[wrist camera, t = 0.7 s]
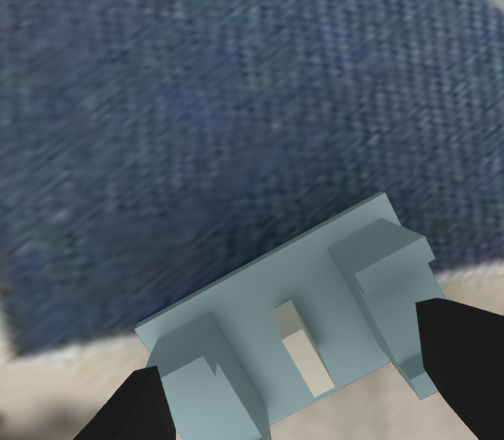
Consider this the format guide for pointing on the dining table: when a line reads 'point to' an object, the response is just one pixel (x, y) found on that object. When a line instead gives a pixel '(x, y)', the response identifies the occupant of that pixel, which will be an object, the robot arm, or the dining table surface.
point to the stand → (295, 325)
